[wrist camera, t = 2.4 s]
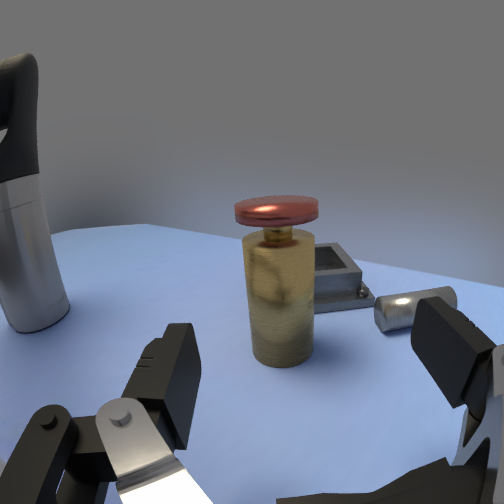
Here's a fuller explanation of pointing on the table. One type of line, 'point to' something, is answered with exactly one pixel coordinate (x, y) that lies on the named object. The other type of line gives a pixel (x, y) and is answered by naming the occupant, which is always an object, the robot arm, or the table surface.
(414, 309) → the cylinder
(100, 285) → the table surface
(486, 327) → the table surface
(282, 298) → the valve
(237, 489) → the table surface
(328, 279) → the socket
